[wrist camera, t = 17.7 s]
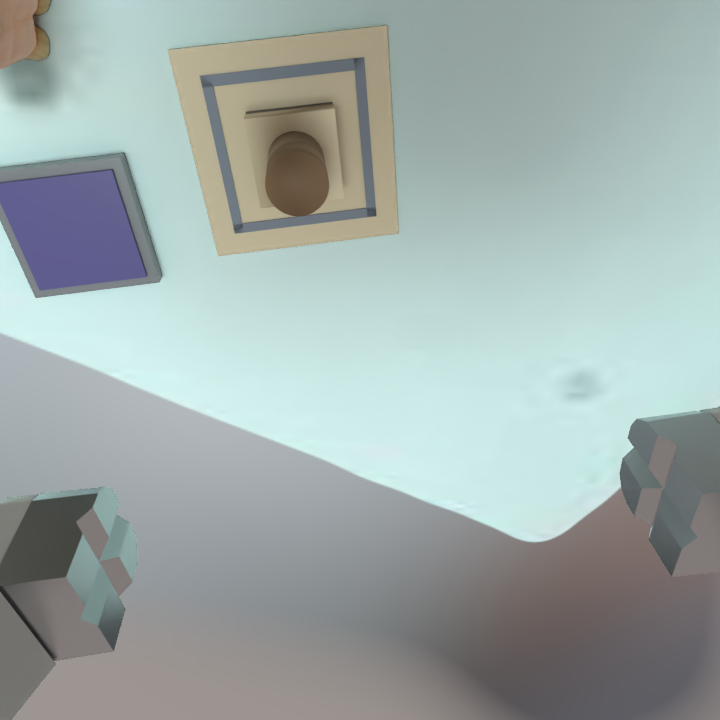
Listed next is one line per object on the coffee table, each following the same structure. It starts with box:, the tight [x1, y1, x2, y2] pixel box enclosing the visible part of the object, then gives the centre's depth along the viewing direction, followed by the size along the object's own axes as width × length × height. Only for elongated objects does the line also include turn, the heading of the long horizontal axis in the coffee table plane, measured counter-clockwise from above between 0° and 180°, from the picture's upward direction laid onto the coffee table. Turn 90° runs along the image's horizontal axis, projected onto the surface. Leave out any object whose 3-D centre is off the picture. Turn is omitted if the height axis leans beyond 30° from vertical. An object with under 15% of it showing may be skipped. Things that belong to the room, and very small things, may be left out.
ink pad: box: [0, 153, 162, 298], centre depth 35 cm, size 8×8×1 cm
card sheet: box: [168, 25, 399, 256], centre depth 35 cm, size 12×12×1 cm
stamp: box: [244, 102, 344, 216], centre depth 32 cm, size 5×5×7 cm
